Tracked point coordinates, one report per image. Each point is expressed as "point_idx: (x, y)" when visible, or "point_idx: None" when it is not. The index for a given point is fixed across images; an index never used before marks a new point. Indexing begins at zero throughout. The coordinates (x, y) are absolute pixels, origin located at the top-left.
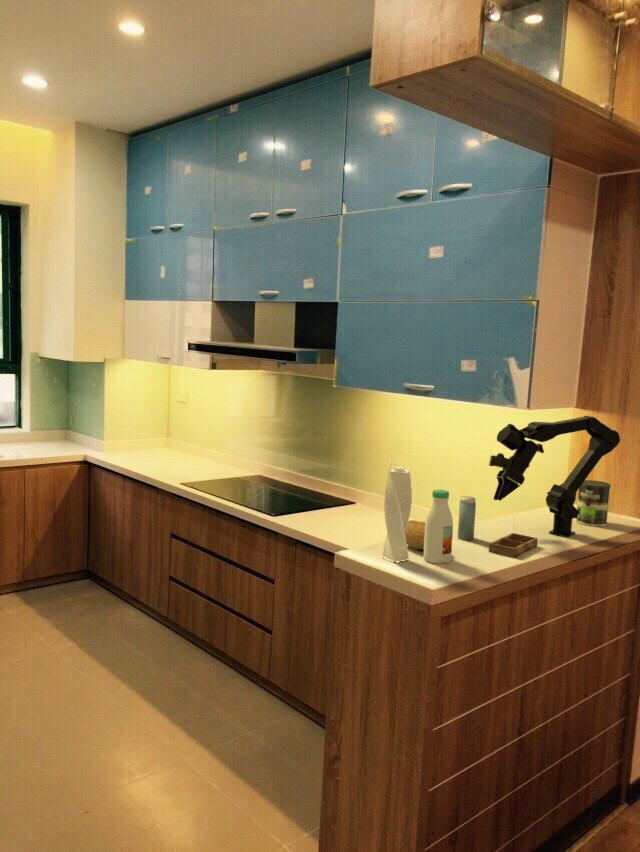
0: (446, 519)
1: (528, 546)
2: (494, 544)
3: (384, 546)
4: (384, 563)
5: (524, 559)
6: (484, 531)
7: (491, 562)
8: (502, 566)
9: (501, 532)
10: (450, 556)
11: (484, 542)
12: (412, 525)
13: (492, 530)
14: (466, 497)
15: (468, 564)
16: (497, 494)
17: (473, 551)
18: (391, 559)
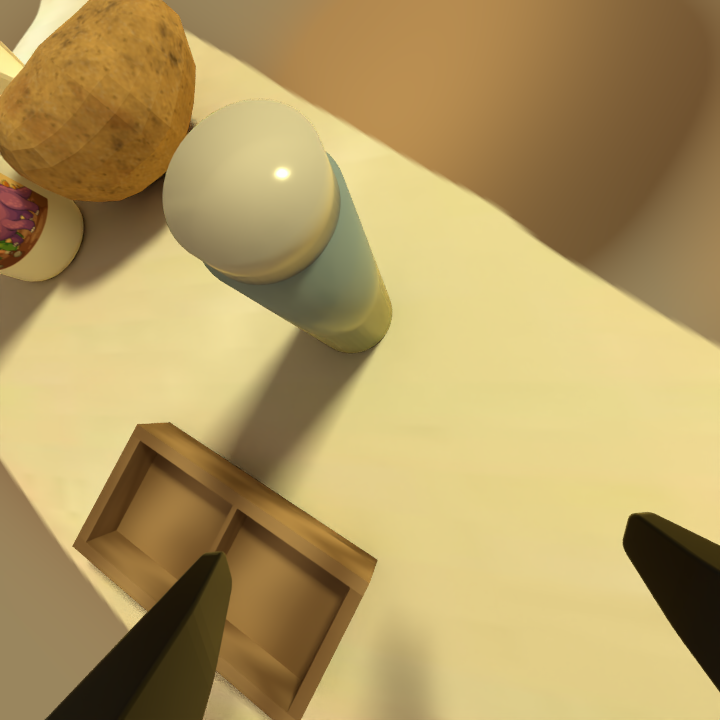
0: None
1: None
2: (124, 448)
3: (3, 45)
4: None
5: (102, 573)
6: (535, 409)
7: (51, 428)
8: (16, 467)
9: (554, 515)
10: (3, 274)
11: (308, 406)
12: (47, 38)
13: (583, 460)
14: (257, 159)
15: (23, 345)
16: (717, 610)
17: (164, 357)
18: None
